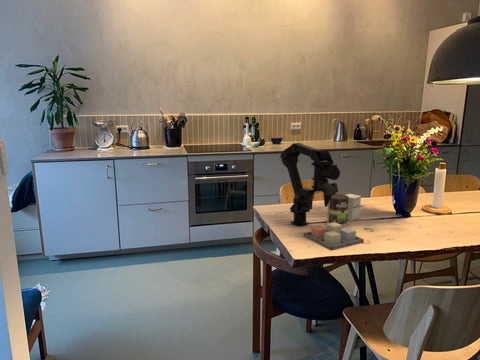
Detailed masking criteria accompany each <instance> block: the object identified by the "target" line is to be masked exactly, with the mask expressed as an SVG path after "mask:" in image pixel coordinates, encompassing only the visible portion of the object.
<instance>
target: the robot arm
mask: <svg viewBox="0 0 480 360" xmlns="http://www.w3.org/2000/svg"><path fill="white" fill-rule="evenodd" d="M301 154H302V155H303V156H307V157H309V158H310V160H312V161H313V162H312V163H311V166H314V167H313V177H311V180H312V181H313V184H312V185H311V188H309V187H303V183H302V179H301V176H300V173H299V169H298V166H297V165H298V162H299V156H300V155H301ZM280 160H281V162H282V164H283V166H284V167H286V169H287V172H288V175H289V179H290V182H291V183H290V184H291V186H292V189H293V193H294V196H293V198H292V199H293V201H292V203H293V204H292V205H291V206H290V208H289V209H290V213H293V220H292V221H290V223H291V224H293V225H295V226H298V227H301V226H305V225H309V222H307V213H309V212H310V211H311V210H313V202H314V199H315V196H314V195H315V194H317V193H318V194H319V193H323V203H324V207H325V208H328V203H329V201H330V199H331V197H332V196H333V195H334V194H338V192H339V187H338V183H337V182H332V183H331V182H329V180H332V181H337V180H338V179H339V178H340V175H341V171H340V169H339V167H338V165H337V164H335V163H334V160H333V159H332V155H331V154H330V151H329V149H327V148H314V147H311V146H309V145H305V144H303V143H301V142H293V143H292V144H291V145H290V146H289V147H286V148H285V149H284V150H283V151H282V152H281V153H280Z"/></svg>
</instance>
